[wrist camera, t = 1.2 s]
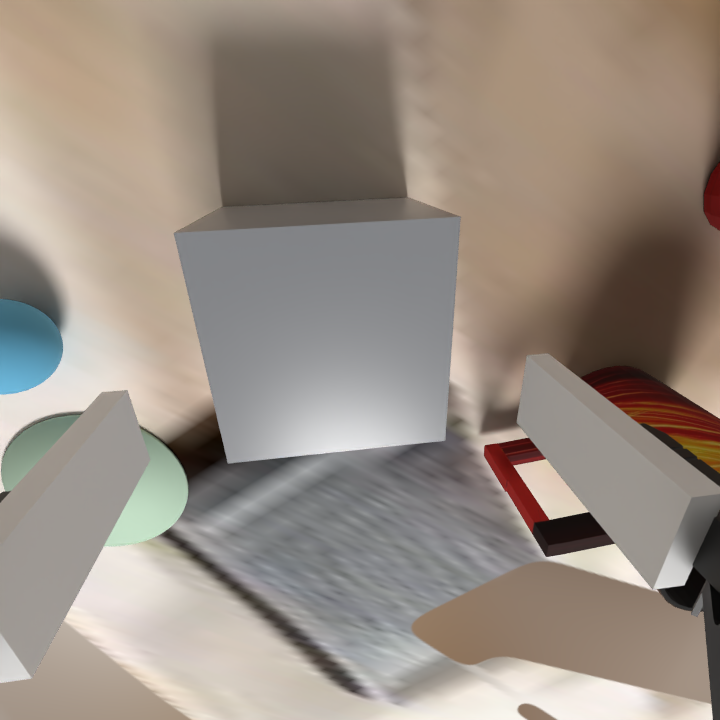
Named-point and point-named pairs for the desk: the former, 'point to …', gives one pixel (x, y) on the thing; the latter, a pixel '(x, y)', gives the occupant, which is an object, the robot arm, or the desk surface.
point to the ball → (26, 347)
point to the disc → (149, 499)
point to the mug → (644, 405)
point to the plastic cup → (713, 198)
